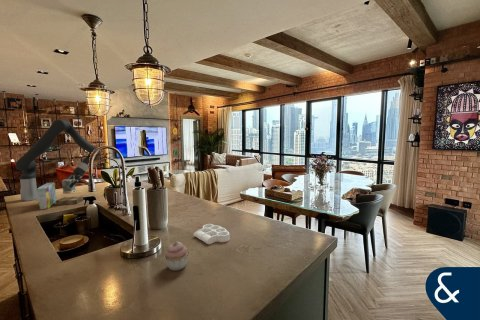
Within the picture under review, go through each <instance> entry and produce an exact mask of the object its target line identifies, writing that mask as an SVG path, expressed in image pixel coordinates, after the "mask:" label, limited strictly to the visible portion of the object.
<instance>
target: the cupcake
mask: <svg viewBox="0 0 480 320" xmlns="http://www.w3.org/2000/svg"><path fill="white" fill-rule="evenodd" d="M189 255H190V251H189V250H188V249H187V247H186V245H185V244H183V243H182V242H180V241H174V242H173V243H172V244H170V245H169V246H168V248H167V249H166V251H165V254H164V255H163V257H164V260H165V262H166V263H167V267H168V268H169V270H170V271H174V272H175V271H176V272H177V271H180V270H183V269H185V267H186V266H187V262H188V259H189V258H188V257H189Z"/></svg>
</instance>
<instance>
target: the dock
mask: <svg viewBox="0 0 480 320" xmlns="http://www.w3.org/2000/svg"><path fill="white" fill-rule="evenodd" d="M83 197H84V196H67V197H62V198H59V199H57V200H56V202H55V205H56V206H62V205H63V206H64V205H77V204H80V203H82V202H83V201H84V200H83Z"/></svg>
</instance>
